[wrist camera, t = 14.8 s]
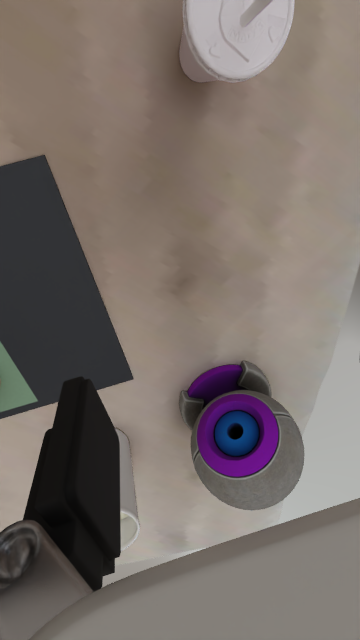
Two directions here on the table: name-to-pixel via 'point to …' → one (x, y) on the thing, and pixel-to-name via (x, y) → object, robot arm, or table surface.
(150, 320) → the table surface
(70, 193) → the table surface
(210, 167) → the table surface
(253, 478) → the webcam
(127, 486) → the candle holder
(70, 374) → the desk pad
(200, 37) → the smoothie
